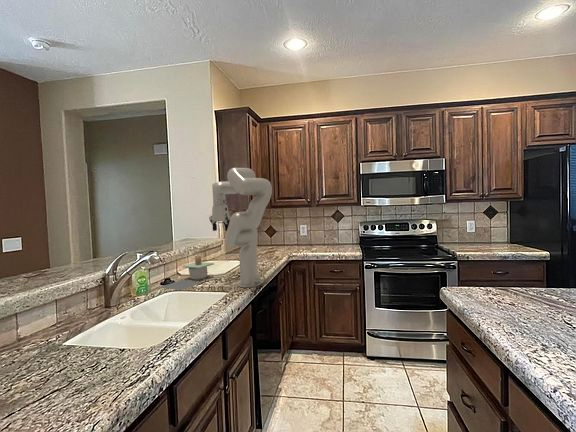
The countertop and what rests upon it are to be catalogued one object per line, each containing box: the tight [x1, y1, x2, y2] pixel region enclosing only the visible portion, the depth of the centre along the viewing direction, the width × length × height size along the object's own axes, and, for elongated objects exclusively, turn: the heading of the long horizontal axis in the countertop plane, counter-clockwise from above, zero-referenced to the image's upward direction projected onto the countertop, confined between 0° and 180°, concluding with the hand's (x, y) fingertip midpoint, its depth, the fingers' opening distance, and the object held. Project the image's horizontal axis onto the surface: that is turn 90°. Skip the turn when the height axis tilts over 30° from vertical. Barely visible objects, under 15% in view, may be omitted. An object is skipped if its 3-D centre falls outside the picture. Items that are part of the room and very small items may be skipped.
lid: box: [182, 255, 215, 269], centre depth 201 cm, size 13×13×6 cm
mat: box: [157, 279, 204, 291], centre depth 186 cm, size 17×17×1 cm
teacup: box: [188, 266, 208, 281], centre depth 201 cm, size 14×11×8 cm
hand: (221, 230), depth 204 cm, fingers open, 9 cm apart
